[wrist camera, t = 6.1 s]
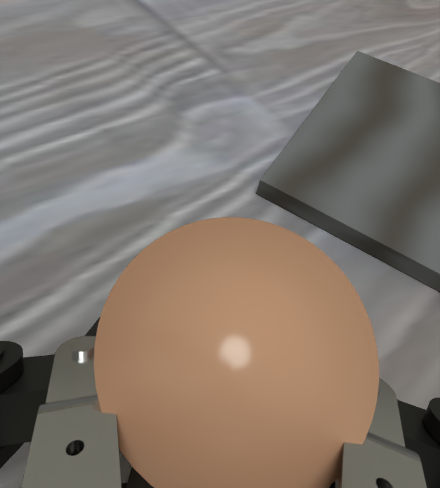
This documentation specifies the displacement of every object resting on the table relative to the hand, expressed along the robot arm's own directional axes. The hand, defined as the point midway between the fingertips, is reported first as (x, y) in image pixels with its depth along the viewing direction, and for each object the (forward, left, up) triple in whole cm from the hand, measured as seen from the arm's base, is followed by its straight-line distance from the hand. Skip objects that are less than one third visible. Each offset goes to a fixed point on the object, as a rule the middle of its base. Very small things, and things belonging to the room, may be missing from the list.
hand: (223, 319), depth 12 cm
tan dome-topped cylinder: (+1, -2, -5) cm, 6 cm away
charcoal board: (+7, +20, -5) cm, 22 cm away
